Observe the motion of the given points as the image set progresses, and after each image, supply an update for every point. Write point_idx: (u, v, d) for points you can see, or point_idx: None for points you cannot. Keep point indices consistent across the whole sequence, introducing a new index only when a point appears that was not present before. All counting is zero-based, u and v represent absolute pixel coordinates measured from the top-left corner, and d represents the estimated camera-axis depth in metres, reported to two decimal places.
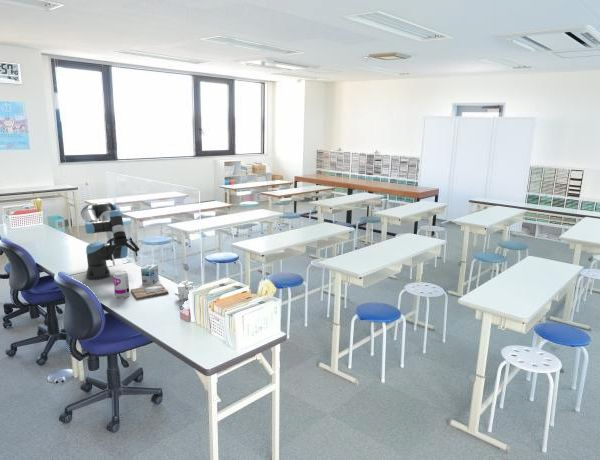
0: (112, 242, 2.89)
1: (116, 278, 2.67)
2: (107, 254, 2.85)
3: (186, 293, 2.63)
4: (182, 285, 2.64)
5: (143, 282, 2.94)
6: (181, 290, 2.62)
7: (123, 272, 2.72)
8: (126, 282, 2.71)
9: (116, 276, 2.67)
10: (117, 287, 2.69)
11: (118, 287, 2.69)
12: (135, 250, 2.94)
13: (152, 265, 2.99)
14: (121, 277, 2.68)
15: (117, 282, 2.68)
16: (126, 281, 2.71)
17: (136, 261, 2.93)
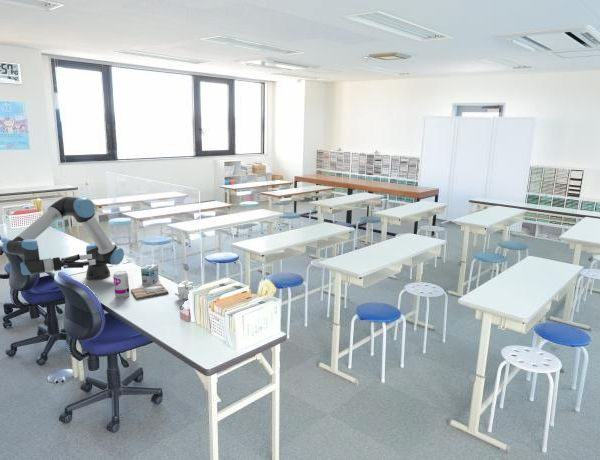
0: None
1: (116, 278, 2.67)
2: None
3: (186, 293, 2.63)
4: (182, 285, 2.64)
5: (143, 282, 2.94)
6: (181, 290, 2.62)
7: (123, 272, 2.72)
8: (126, 282, 2.71)
9: (116, 276, 2.67)
10: (117, 287, 2.69)
11: (118, 287, 2.69)
12: None
13: (152, 265, 2.99)
14: (121, 277, 2.68)
15: (117, 282, 2.68)
16: (126, 281, 2.71)
17: (95, 261, 2.58)
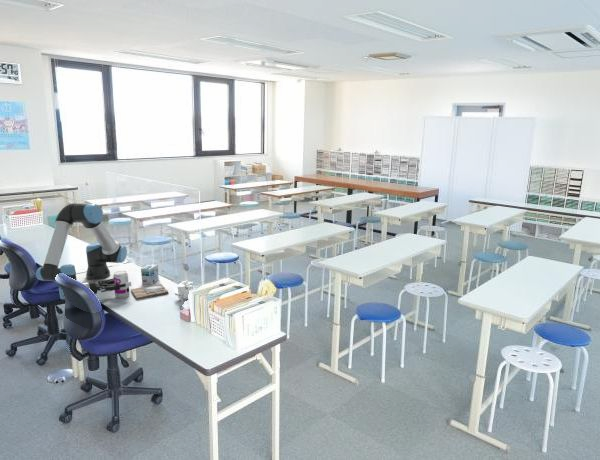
0: None
1: (116, 278, 2.67)
2: None
3: (186, 293, 2.63)
4: (182, 285, 2.64)
5: (143, 282, 2.94)
6: (181, 290, 2.62)
7: (123, 272, 2.72)
8: None
9: (116, 276, 2.67)
10: None
11: None
12: None
13: (152, 265, 2.99)
14: (121, 277, 2.68)
15: (117, 282, 2.68)
16: (126, 281, 2.71)
17: None
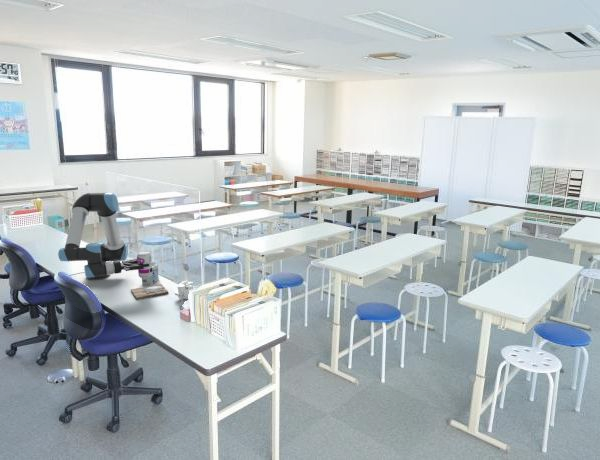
0: None
1: (140, 258, 2.69)
2: None
3: (186, 293, 2.63)
4: (182, 285, 2.64)
5: (143, 282, 2.94)
6: (181, 290, 2.62)
7: (146, 252, 2.74)
8: None
9: (140, 256, 2.69)
10: None
11: None
12: None
13: None
14: (145, 257, 2.69)
15: (141, 262, 2.69)
16: (149, 261, 2.72)
17: (154, 263, 2.72)
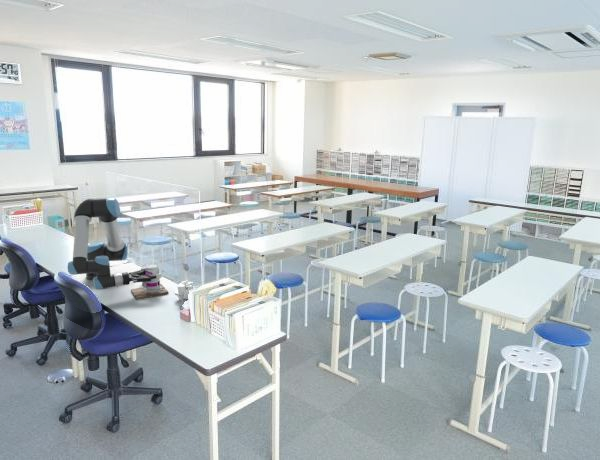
0: None
1: (148, 271, 2.73)
2: None
3: (186, 293, 2.63)
4: (182, 285, 2.64)
5: (143, 282, 2.94)
6: (181, 290, 2.62)
7: (154, 265, 2.78)
8: None
9: (148, 269, 2.73)
10: None
11: (150, 281, 2.75)
12: None
13: None
14: (153, 270, 2.74)
15: (149, 275, 2.74)
16: None
17: (161, 275, 2.75)
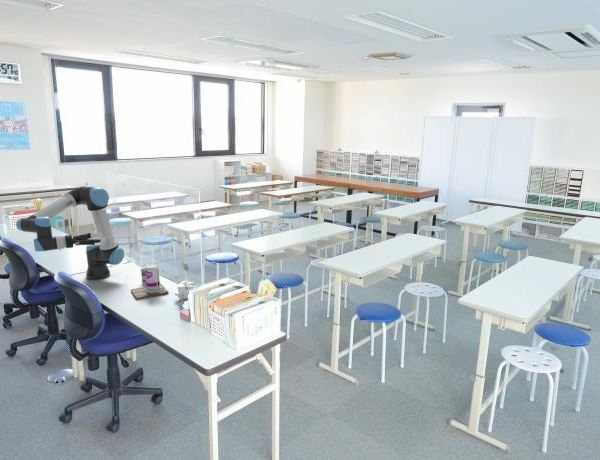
0: None
1: (148, 271, 2.74)
2: None
3: (186, 293, 2.63)
4: (182, 285, 2.64)
5: (143, 282, 2.94)
6: (181, 290, 2.62)
7: (154, 266, 2.78)
8: (157, 276, 2.77)
9: (148, 269, 2.74)
10: (149, 280, 2.75)
11: (149, 281, 2.75)
12: None
13: None
14: (153, 270, 2.74)
15: (149, 275, 2.74)
16: (157, 274, 2.77)
17: (106, 239, 2.64)
